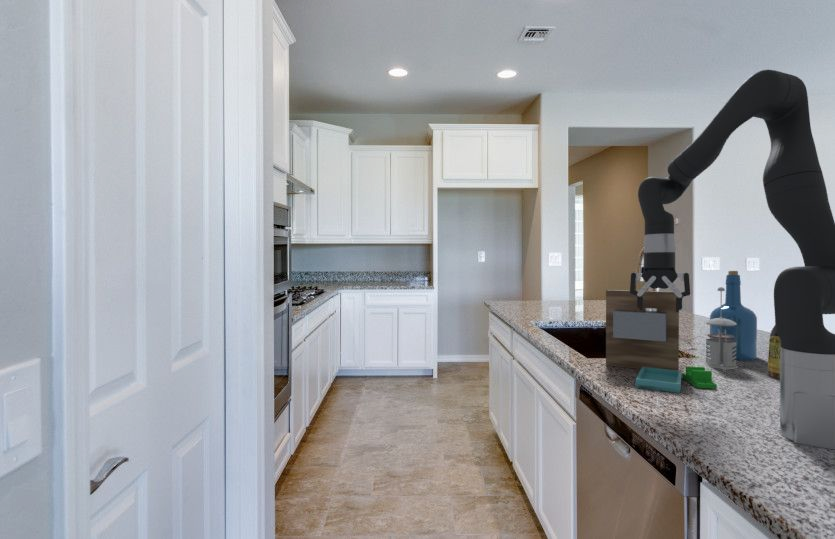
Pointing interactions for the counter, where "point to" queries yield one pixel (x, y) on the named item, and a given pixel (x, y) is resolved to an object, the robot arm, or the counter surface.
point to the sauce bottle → (774, 354)
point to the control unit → (640, 324)
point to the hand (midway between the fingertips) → (659, 310)
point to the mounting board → (643, 351)
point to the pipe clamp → (699, 377)
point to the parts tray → (659, 379)
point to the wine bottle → (737, 320)
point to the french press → (721, 344)
